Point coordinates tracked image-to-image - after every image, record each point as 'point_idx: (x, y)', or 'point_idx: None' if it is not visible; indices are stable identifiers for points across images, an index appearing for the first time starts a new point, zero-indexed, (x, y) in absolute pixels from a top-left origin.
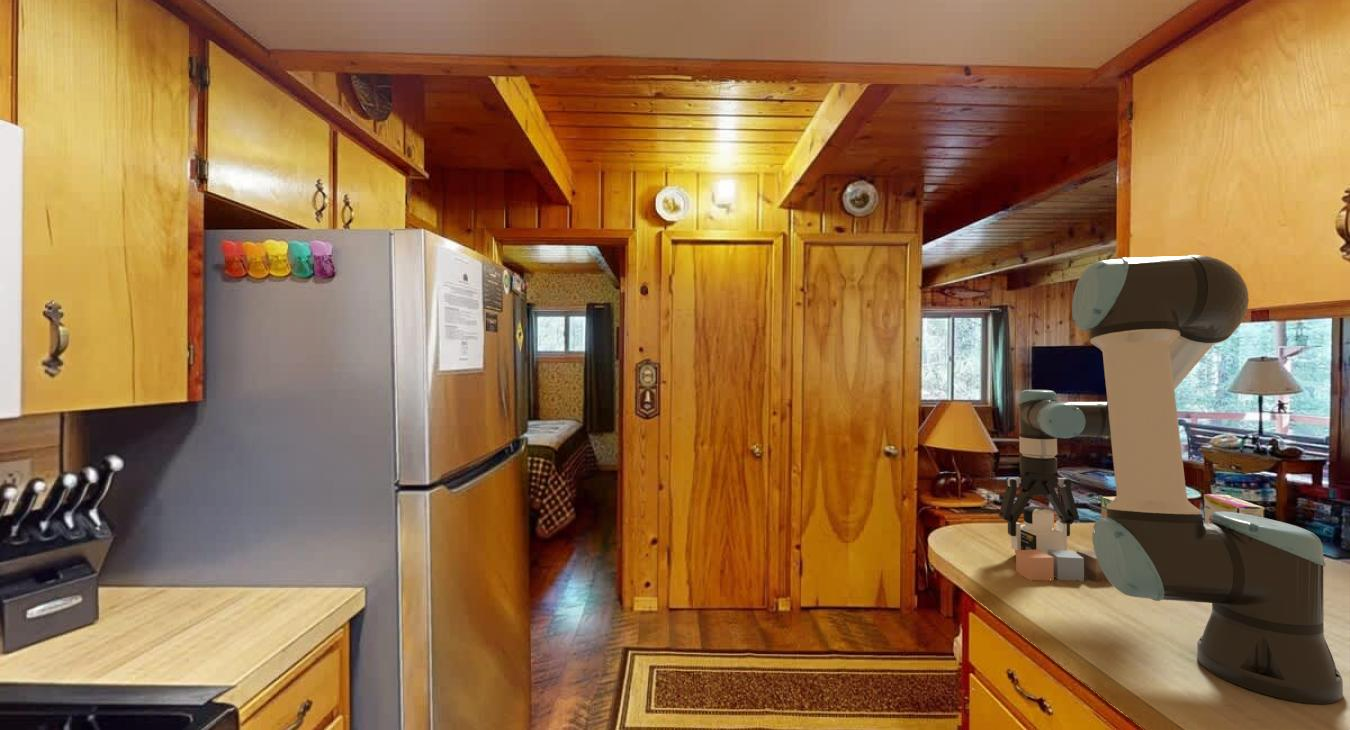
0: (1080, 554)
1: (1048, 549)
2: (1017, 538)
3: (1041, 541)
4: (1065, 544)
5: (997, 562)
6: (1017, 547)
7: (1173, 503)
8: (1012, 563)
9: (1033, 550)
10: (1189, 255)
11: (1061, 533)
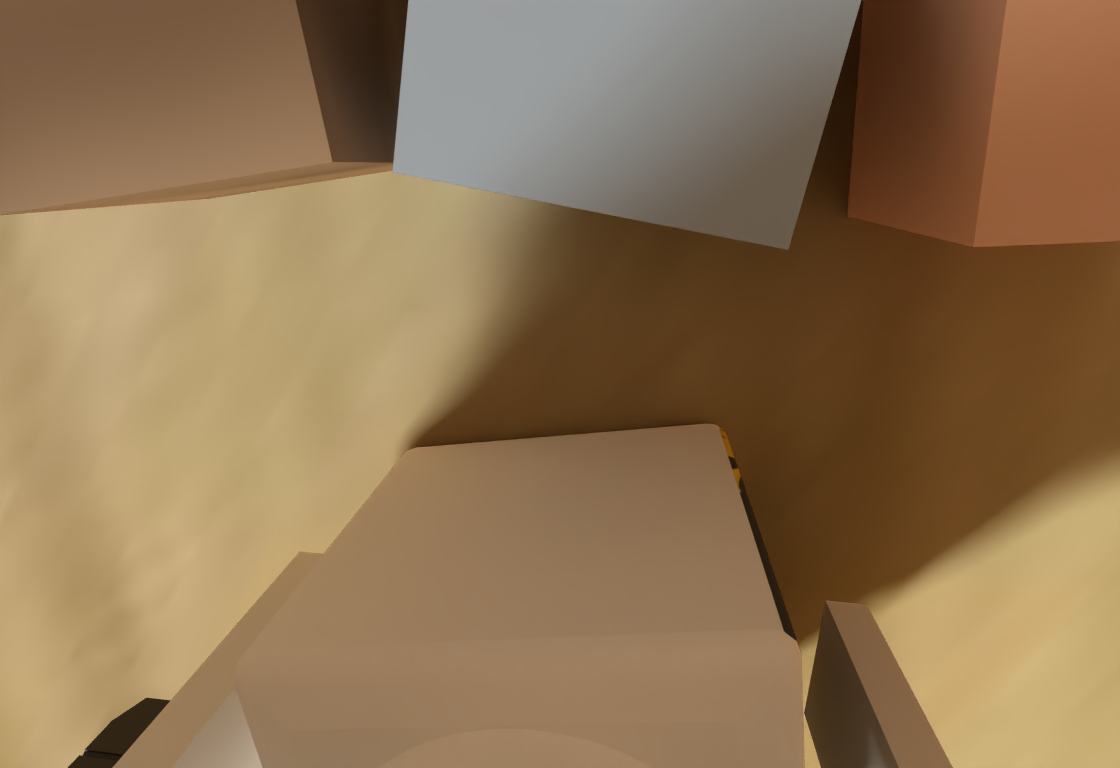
0: (329, 75)
1: (561, 503)
2: (930, 734)
3: (670, 563)
4: (273, 601)
5: (1101, 510)
6: (882, 636)
7: None
8: (953, 472)
9: (1102, 201)
10: None
11: (273, 659)
